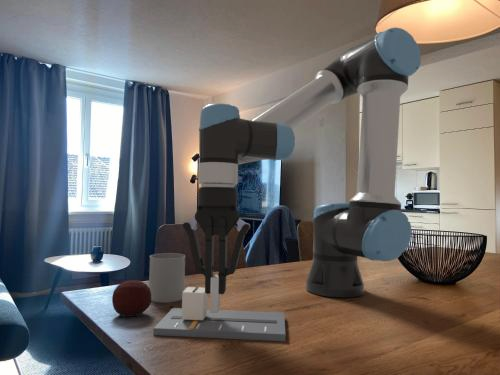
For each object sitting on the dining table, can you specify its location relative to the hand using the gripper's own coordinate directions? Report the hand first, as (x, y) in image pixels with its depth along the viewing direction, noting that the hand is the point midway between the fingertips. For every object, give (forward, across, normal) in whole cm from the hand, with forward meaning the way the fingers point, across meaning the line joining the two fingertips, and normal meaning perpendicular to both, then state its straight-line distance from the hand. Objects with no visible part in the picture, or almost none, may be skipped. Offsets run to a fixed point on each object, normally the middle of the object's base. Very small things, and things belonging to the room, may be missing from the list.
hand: (214, 310), depth 70 cm
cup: (+3, +15, -18) cm, 24 cm away
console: (+3, -2, 0) cm, 3 cm away
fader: (+1, +4, 0) cm, 4 cm away
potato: (+3, +18, -4) cm, 19 cm away
